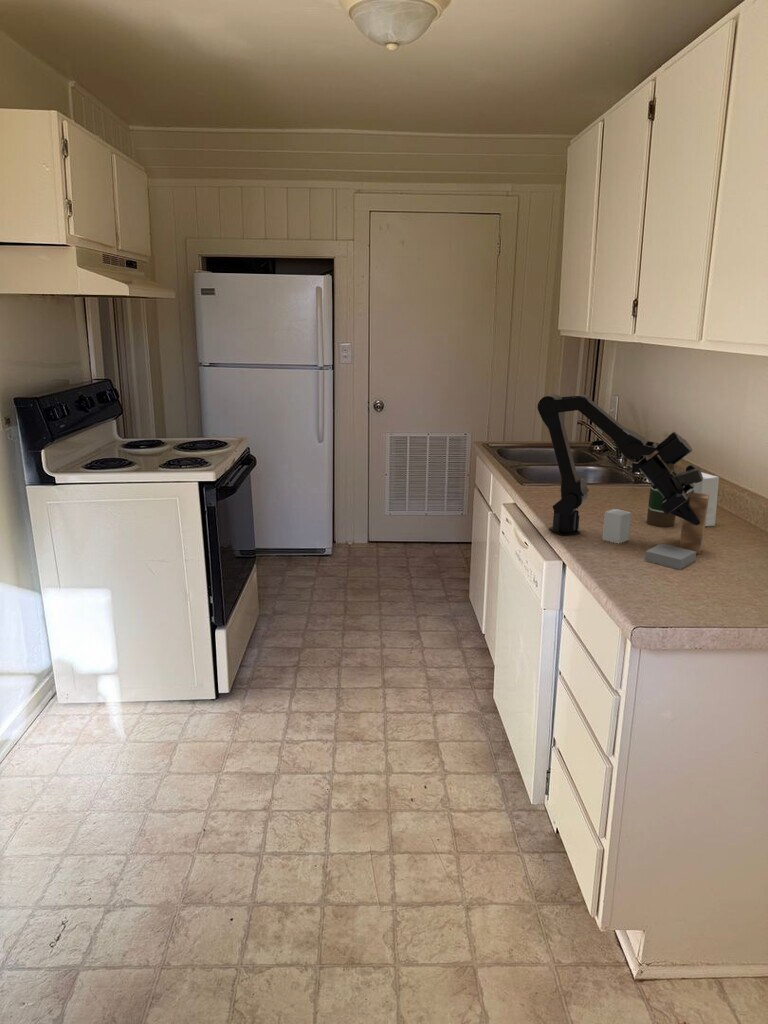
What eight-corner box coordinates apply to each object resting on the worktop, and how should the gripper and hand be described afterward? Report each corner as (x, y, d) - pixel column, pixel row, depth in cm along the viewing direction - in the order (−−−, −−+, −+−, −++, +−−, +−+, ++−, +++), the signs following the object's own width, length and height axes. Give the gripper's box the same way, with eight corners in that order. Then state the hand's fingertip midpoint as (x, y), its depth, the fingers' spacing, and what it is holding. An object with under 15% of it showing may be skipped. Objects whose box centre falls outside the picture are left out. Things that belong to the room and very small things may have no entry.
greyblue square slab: (644, 562, 178) (645, 551, 177) (660, 554, 184) (661, 543, 183) (679, 571, 172) (681, 559, 171) (694, 562, 178) (696, 551, 177)
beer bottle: (640, 521, 212) (649, 442, 206) (661, 519, 215) (670, 441, 209) (659, 528, 205) (668, 447, 199) (680, 525, 208) (690, 445, 202)
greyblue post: (618, 544, 191) (621, 515, 189) (602, 539, 195) (604, 511, 193) (628, 540, 194) (631, 512, 192) (612, 536, 198) (615, 508, 196)
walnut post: (678, 551, 185) (686, 495, 181) (681, 546, 189) (688, 491, 185) (699, 554, 183) (707, 498, 179) (701, 549, 187) (709, 494, 183)
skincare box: (715, 526, 208) (721, 477, 204) (696, 527, 207) (703, 478, 203) (697, 518, 216) (703, 471, 212) (679, 519, 215) (685, 471, 211)
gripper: (680, 462, 174) (723, 511, 171) (689, 450, 189) (729, 495, 187) (643, 489, 179) (685, 537, 177) (655, 476, 195) (693, 520, 193)
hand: (699, 521), depth 183 cm, fingers closed on walnut post, 5 cm apart
